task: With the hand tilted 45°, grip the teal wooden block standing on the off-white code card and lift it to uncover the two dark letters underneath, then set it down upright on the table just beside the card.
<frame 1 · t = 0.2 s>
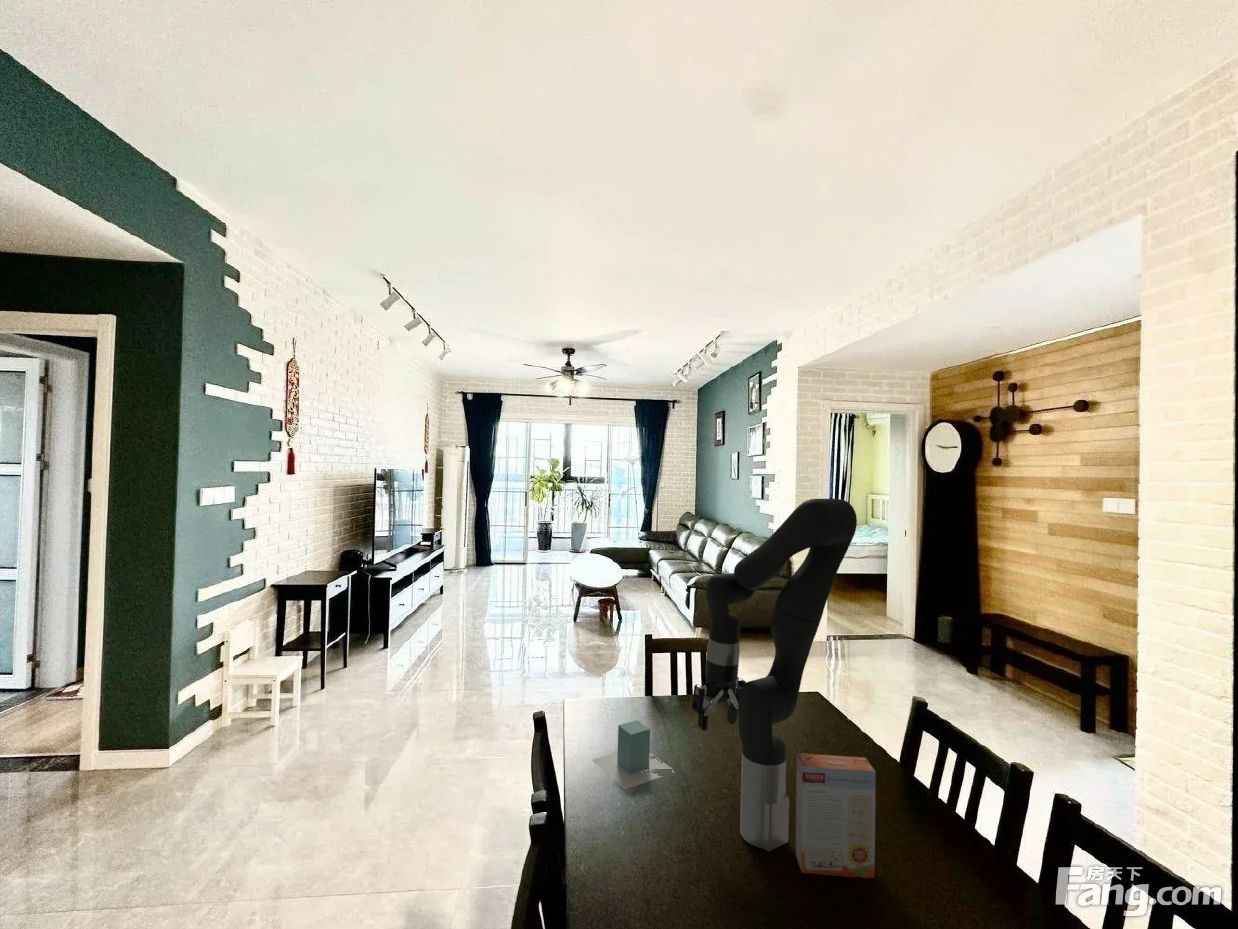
hand: (717, 726, 131), 18 cm above the table, tool pointing down, fingers open, 8 cm apart
teal block: (633, 765, 146), resting on code card
cracker box: (833, 867, 111), on the table
code card: (633, 765, 146), on the table
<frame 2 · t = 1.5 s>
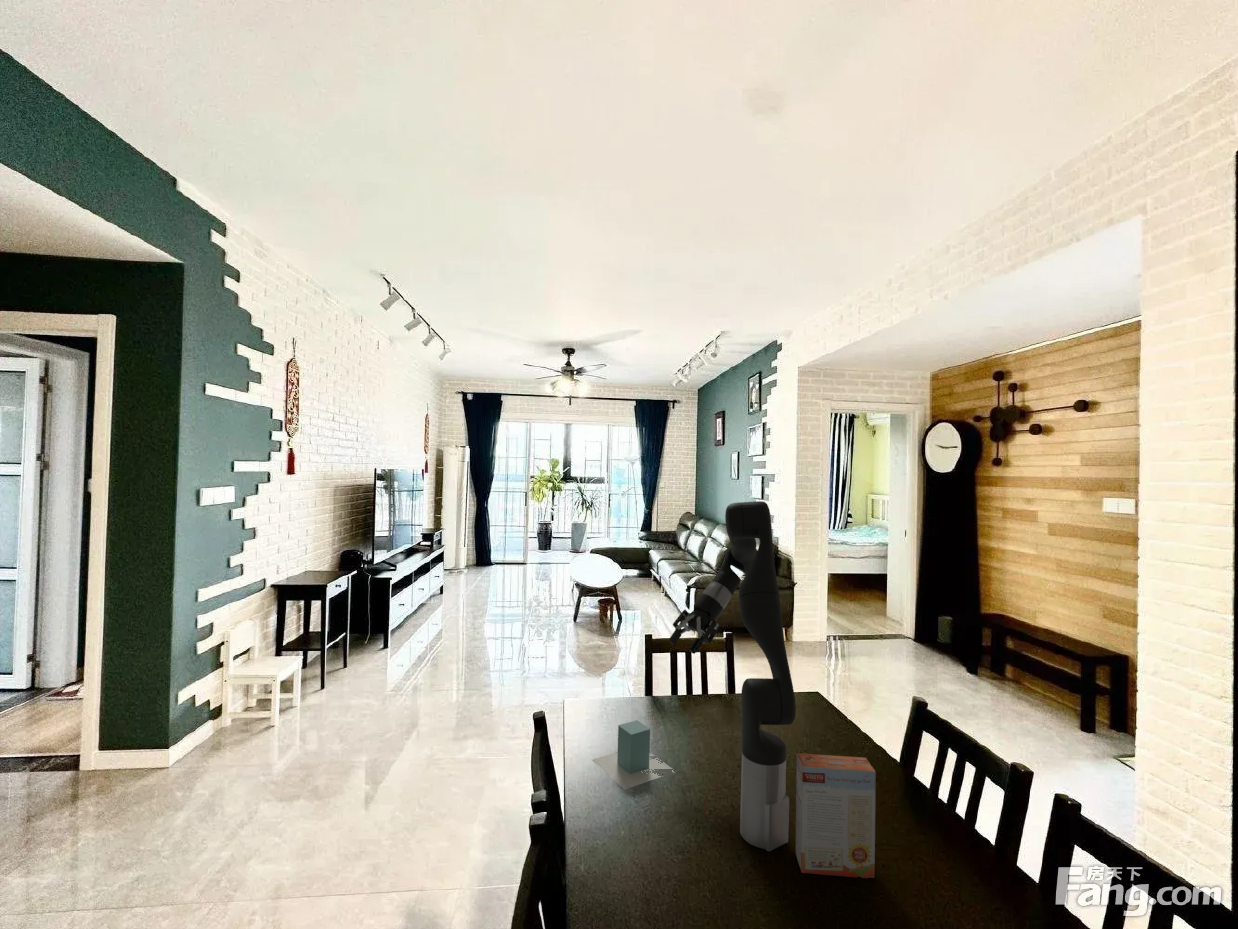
hand: (681, 647, 155), 29 cm above the table, tool tilted 45°, fingers open, 8 cm apart
nothing on the table moved.
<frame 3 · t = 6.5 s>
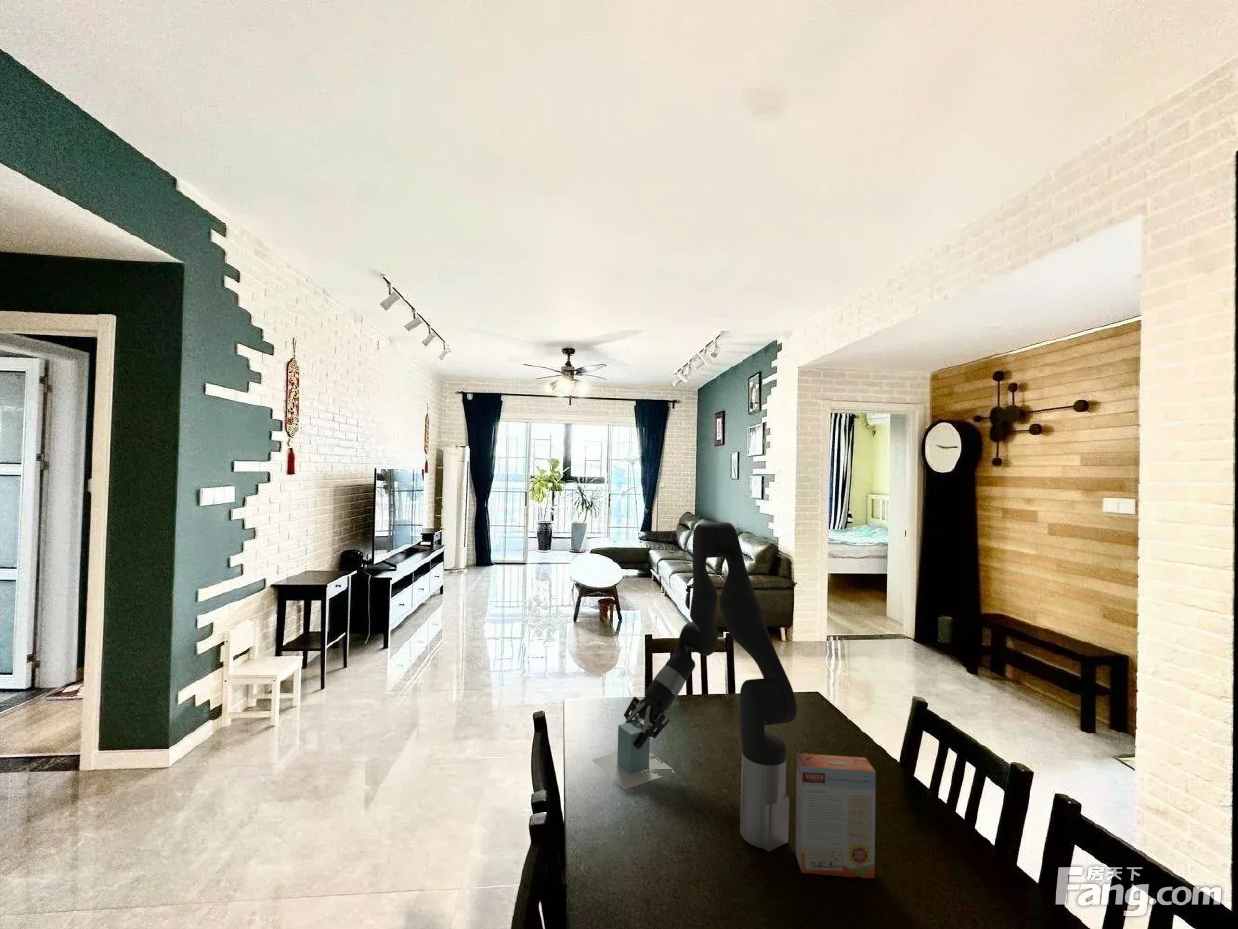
hand: (628, 741, 145), 7 cm above the table, tool tilted 45°, fingers closed on teal block, 6 cm apart
teal block: (633, 765, 146), resting on code card, touching gripper
everything else where it was.
when the fingers open (8 cm above the table, at t = 14.5 s): teal block drops 1 cm, on the table.
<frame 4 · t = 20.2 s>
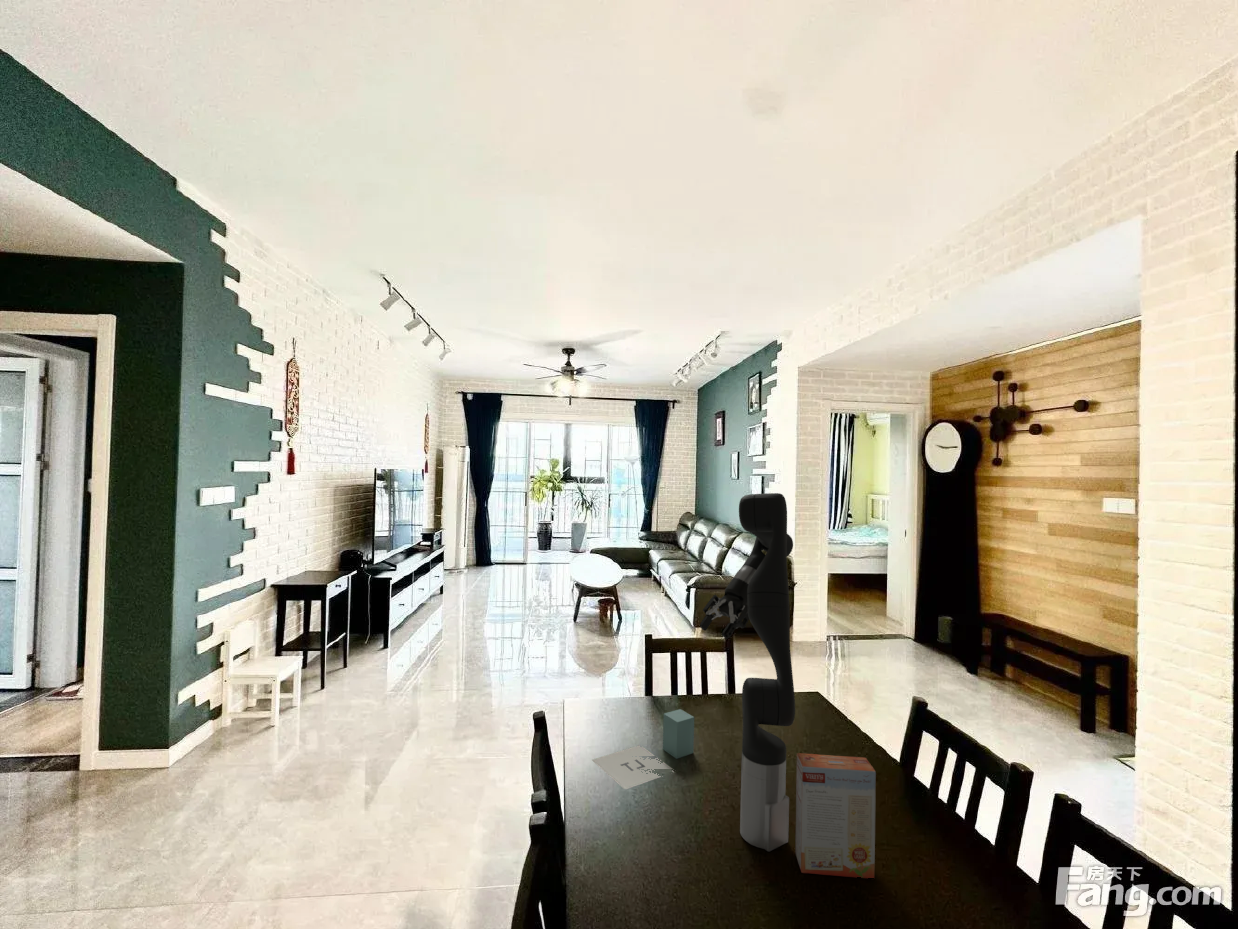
hand: (713, 632, 149), 35 cm above the table, tool tilted 45°, fingers open, 8 cm apart
teal block: (677, 751, 154), on the table
everything else where it was.
at the end: teal block inside the target area (0.2 cm from its centre), on the table; teal block tilted 0°; the gripper is holding nothing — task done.
